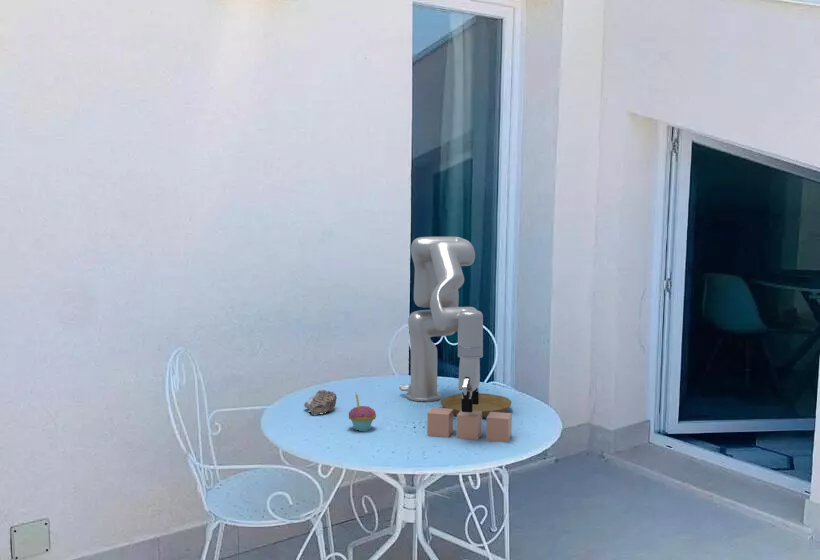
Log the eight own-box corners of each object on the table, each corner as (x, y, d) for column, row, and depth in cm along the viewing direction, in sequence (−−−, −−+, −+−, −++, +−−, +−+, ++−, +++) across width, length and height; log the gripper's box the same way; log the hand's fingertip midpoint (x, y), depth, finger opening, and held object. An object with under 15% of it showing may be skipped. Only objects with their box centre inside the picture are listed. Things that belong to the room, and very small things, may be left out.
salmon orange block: (486, 440, 234) (486, 417, 233) (490, 434, 240) (490, 411, 240) (508, 442, 232) (508, 419, 232) (511, 435, 239) (511, 413, 238)
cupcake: (355, 434, 240) (354, 395, 239) (344, 427, 247) (343, 389, 246) (380, 430, 244) (380, 392, 243) (369, 423, 251) (368, 386, 250)
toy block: (456, 438, 236) (456, 415, 236) (461, 431, 243) (461, 409, 242) (478, 439, 235) (478, 416, 234) (481, 433, 241) (482, 411, 240)
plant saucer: (430, 404, 275) (430, 395, 275) (492, 399, 283) (493, 390, 282) (456, 423, 252) (456, 413, 252) (524, 416, 260) (524, 407, 260)
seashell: (307, 396, 274) (321, 374, 271) (330, 409, 275) (345, 387, 272) (298, 415, 261) (312, 391, 258) (322, 429, 261) (337, 406, 258)
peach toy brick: (427, 435, 239) (427, 412, 238) (432, 429, 245) (432, 407, 244) (448, 437, 237) (448, 414, 236) (453, 431, 243) (453, 408, 243)
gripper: (463, 346, 245) (463, 400, 247) (451, 356, 228) (451, 414, 230) (487, 347, 243) (487, 402, 245) (477, 357, 226) (477, 415, 228)
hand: (470, 407), depth 237 cm, fingers open, 9 cm apart
